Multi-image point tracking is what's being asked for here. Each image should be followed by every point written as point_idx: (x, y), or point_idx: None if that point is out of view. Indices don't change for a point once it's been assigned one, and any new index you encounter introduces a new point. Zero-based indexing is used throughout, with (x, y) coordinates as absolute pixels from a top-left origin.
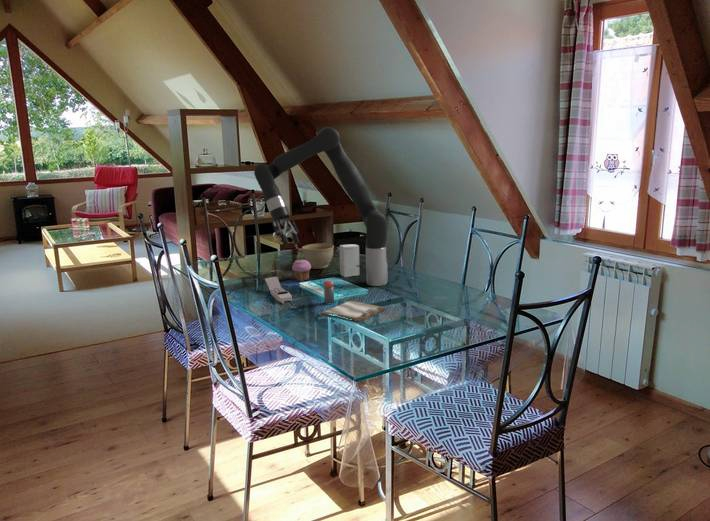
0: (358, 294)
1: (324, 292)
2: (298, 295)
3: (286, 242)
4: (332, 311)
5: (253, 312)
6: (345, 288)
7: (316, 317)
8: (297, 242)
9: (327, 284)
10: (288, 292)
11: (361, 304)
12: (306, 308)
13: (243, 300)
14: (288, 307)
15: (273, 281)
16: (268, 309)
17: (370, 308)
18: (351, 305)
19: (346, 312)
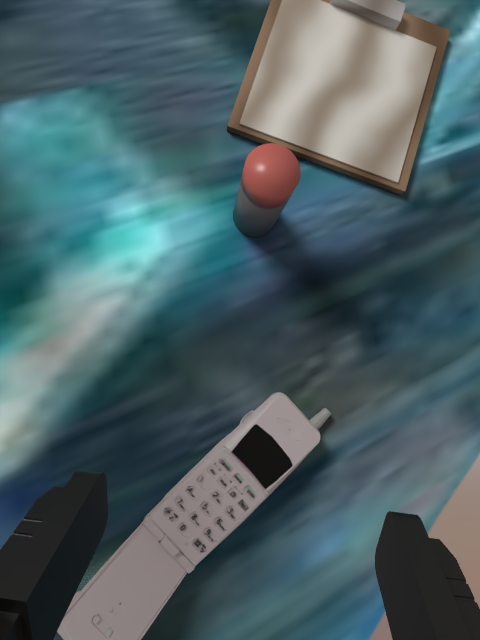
0: (100, 127)
1: (278, 213)
2: (177, 403)
3: (429, 541)
4: (391, 152)
5: (456, 485)
6: (8, 216)
7: (439, 204)
8: (101, 491)
9: (298, 171)
10: (249, 429)
11: (276, 62)
12: (350, 285)
13: (317, 637)
14: (357, 367)
15: (109, 607)
16: (404, 441)
17: (317, 17)
18: (299, 99)
19: (388, 95)
